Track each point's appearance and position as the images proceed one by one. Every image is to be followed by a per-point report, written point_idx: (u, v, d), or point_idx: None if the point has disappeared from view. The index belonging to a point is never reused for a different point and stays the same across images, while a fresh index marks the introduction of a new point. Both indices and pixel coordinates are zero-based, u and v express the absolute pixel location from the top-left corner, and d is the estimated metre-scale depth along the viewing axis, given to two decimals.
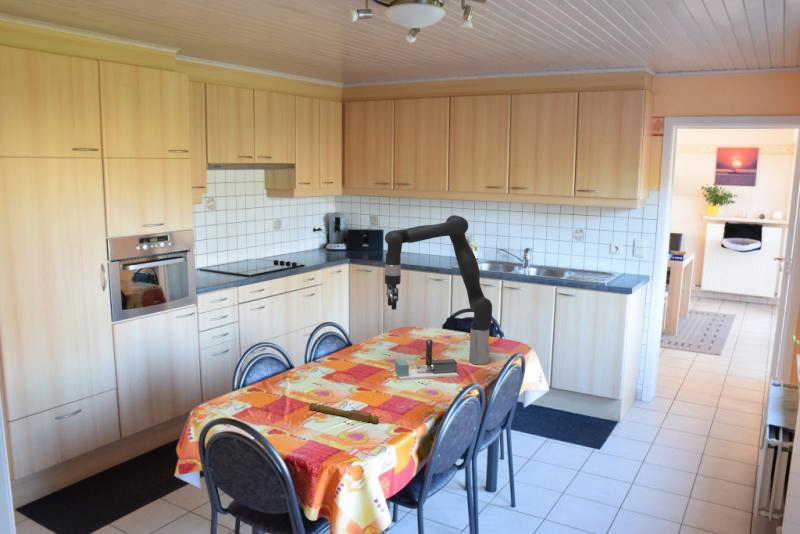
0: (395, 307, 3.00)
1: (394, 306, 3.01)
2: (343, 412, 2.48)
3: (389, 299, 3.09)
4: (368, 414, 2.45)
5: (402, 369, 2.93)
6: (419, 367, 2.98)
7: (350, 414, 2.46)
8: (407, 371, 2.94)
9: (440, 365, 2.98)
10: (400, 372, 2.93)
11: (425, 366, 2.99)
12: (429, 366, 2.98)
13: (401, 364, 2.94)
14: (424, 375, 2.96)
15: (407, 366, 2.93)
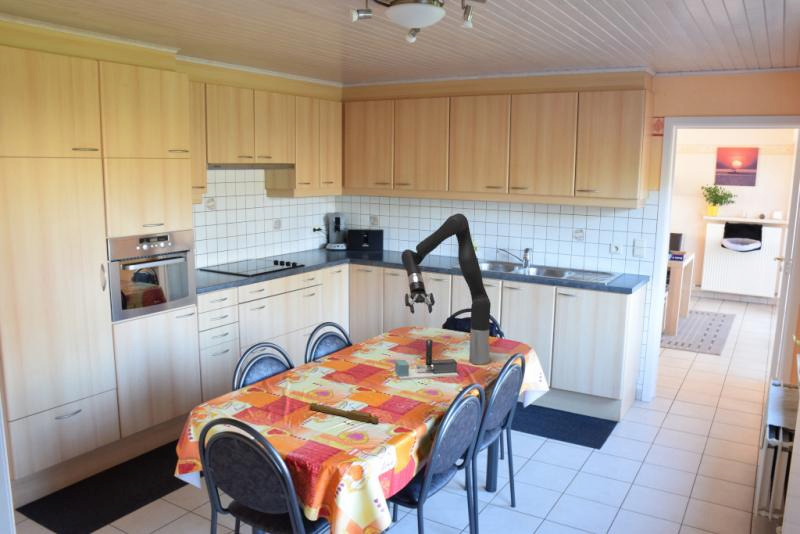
0: (411, 310, 3.09)
1: None
2: (343, 412, 2.48)
3: (428, 307, 3.13)
4: (368, 414, 2.45)
5: (402, 369, 2.93)
6: (419, 367, 2.98)
7: (350, 414, 2.46)
8: (407, 371, 2.94)
9: (440, 365, 2.98)
10: (400, 372, 2.93)
11: (425, 366, 2.99)
12: (429, 366, 2.98)
13: (401, 364, 2.94)
14: (424, 375, 2.96)
15: (407, 366, 2.93)
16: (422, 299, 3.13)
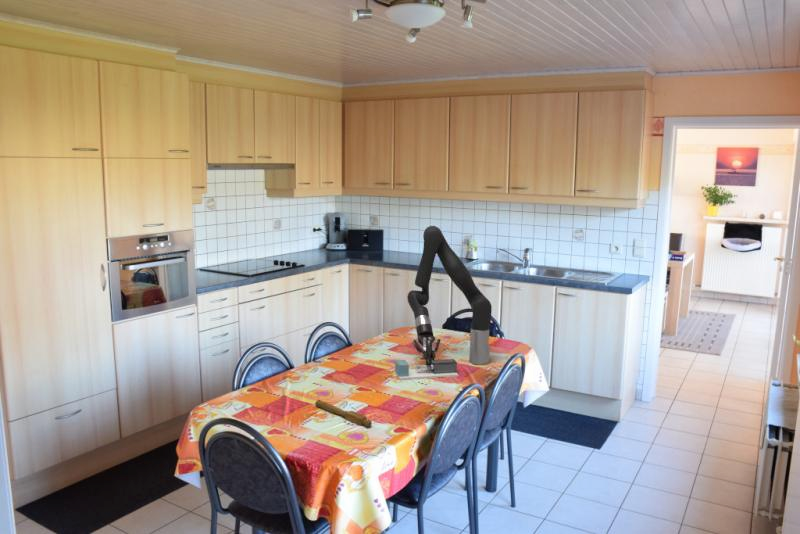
0: (423, 357, 2.97)
1: None
2: (342, 412, 2.48)
3: None
4: (362, 417, 2.42)
5: (402, 369, 2.93)
6: (419, 367, 2.98)
7: (346, 415, 2.45)
8: (407, 371, 2.94)
9: (440, 365, 2.98)
10: (400, 372, 2.93)
11: (425, 366, 2.99)
12: (429, 366, 2.98)
13: (401, 364, 2.94)
14: (424, 375, 2.96)
15: (407, 366, 2.93)
16: None
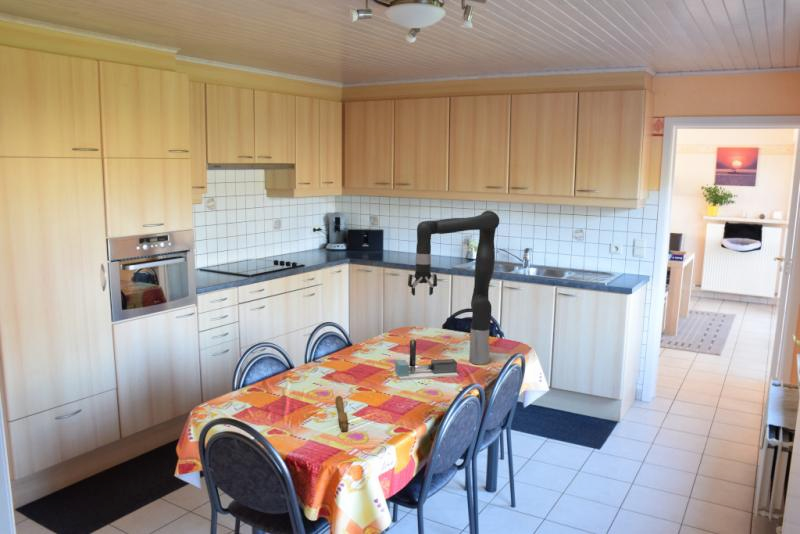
0: None
1: None
2: (339, 412, 2.49)
3: (429, 288, 3.17)
4: (343, 420, 2.39)
5: (402, 369, 2.93)
6: None
7: (338, 415, 2.45)
8: (407, 371, 2.94)
9: (440, 365, 2.98)
10: (400, 372, 2.93)
11: (409, 367, 2.97)
12: (413, 367, 2.97)
13: (401, 364, 2.94)
14: (424, 375, 2.96)
15: (407, 366, 2.93)
16: (425, 281, 3.15)
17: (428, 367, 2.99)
